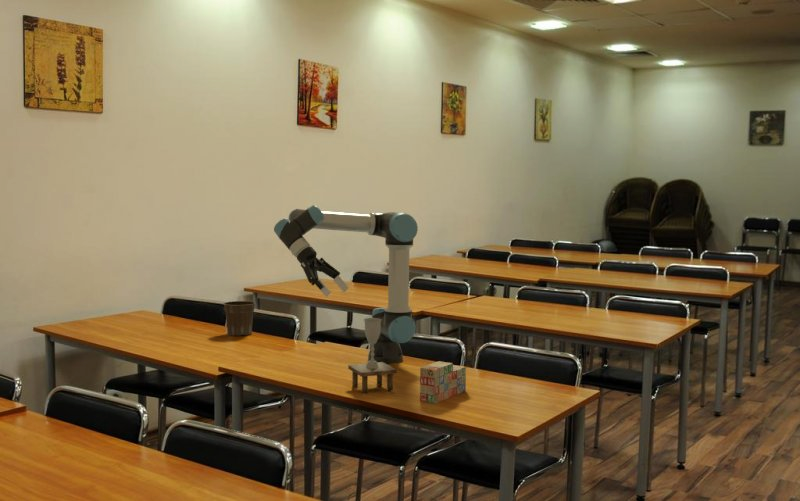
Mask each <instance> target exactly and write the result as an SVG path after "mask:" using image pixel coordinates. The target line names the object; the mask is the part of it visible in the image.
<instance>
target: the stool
mask: <svg viewBox="0 0 800 501" xmlns="http://www.w3.org/2000/svg"><path fill="white" fill-rule="evenodd" d="M377 364H378V366H379V368H376V369H369V368H366V366H367V362H366V363H357V364H349V365H347V366H348V367H347V368H348V370H349V371H352V380H351V381H352V382H351V383H352V387H353V388H358V387H359V383H358V382H359V378H358V377H359V376H360V377H361V393H362V394H368V379H369V378H368V377H373V376H374V377H375V376H376V385H379V386H381V385H383V376H385V375H386V376H387V377H386V391H388V392H391V391H393V388H394V387H393V384H394V383H393V375H394V374H398V369H397V368H395V367H393V366H391V365H389V364H388V363H383V362H377Z"/></svg>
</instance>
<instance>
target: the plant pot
mask: <svg viewBox="0 0 800 501" xmlns="http://www.w3.org/2000/svg"><path fill="white" fill-rule="evenodd" d="M255 305H256V302H255V301H252V300H251V301H248V300H235V301H233V300H232V301H226V302H223V307H224V308H223V309H224V312H225V318H226V322H225V323H226V332H227V335H228V336H233V337H234V336H235V337H240V336H250V335H251V334H252V332H253V319H254V311H255Z"/></svg>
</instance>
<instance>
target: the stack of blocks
mask: <svg viewBox="0 0 800 501" xmlns="http://www.w3.org/2000/svg"><path fill="white" fill-rule="evenodd" d="M419 370H420V372H419V373H420V374H419V375H420V376H419V401H420V402H426V403H430V404H437V403H440V402H442V401H444V400H447V399H449V398H451V397H454V396H456V395H459V394H462V393H464V392H466V385H467V383H466V381H467V374H466V371H467V369H466V366H462V365H454V364H453V362H448V361H447V362H445V361H441V360H439V361H436V362H432V363H429V364H427V365H423V366H421V367H420V368H419Z"/></svg>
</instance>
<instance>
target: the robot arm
mask: <svg viewBox="0 0 800 501" xmlns="http://www.w3.org/2000/svg"><path fill="white" fill-rule="evenodd" d="M313 229H314V230H331V231H344V232H354V233H355V232H357V233H366V234H368V235H369V236H377V237H381V238H383V239H385V242H384V243H385V246H386V247H387V248H388V280H387V282H388V289H387V290H388V294H387V296H388V297H387V299H388V301H387V306H386V307H377V308H374V309H373V310H372V315H371V318H379V319H382V320H381V330H380V335H379V338H378V340H377V342H376V344H374V349H375V350H374V354H375V355H374V360H375V361H377V362H383V363H385V364H395V363H400V362H402V361H403V359H404V358H403V356H404V355H403V350H402V348H401V345H400V344H405V343H407V342H409V341H410V340H411V339H412V338H414V336H415V333H416V329H417V326H416V322H415V321H414V319H413V310H412V308H411V307H410V306H409V299H410V298H409V296H410V295H409V290H410V288H409V287H410V250H411V248H412V247H413V246H414V238H415V237H416V236H417V234H418V229H419V228H418V223H417V220H416V219H415V218H414V217H413V216H412V215H410V214H408V213H405V212H395V211H389V212H388V211H387V212H369V214H364V213H363V214H360V213H351V212H350V213H349V212H337V211H324V210H321V209H320V208H319V207H318V206H317V205H314V204H313V205H311V206H309V207H307V209H300V208H296V209H293V210H292V211H291V212H290V213H289V214H288V218H285V217H284V218H282V219H280V220H279V221H278V222H277V223H276V224H275V225H274V227H273V232H274V233H275V234H276V236H277V237H278V239H279V240H280V241H281V242H282V243H283V245H284V246H286V248H287V249H288V251H290V253H291V255H293V256H294V257H295V258H296V259H297V261H298V263H299V264H300V267H301V268H302V270H303V272H304V274H305V276H306V279H307V280H308V283H309V284H310V285H311V286H316V287H317V288H318V289H319V290H320V292H321V293H322V294H323V295H324V297H325V298H327V297H329V295H330V294H331V293H332V291H331V290H330V288H328V286H327V285H326V283H325V282H323V280H322V279H321V278H319V274H318V272H321V273H323V274H325V275H327V276H328V277H330V278H331V279H333V282H334V283H335V284H336V285H337V287H339V289H340V290H341V291H342V293H346V291H347V290H348V289H349V286H348V285H347V284H346V282H344V280H343V279H342V278H341V276H340V275H341V272H340V271H339V270H337V269H336V268H335V267H334V266H332V265H331V264H330V263H329V262H328V261H326V260H325V259H324V258H323V257H320V258H318V257H317V255H318V253H317V251H316V250H315V249H314V248H313V247H312V246H311V244H310V243H309V242H308V240H307V239H306V238H305V237H304V235H306V234H307V233H308V232H309V231H311V230H313ZM370 349H371V347H370V348H369V351H368V354H367V358H368V359H367V360H368V361H370V360H371V355H370V354H371V350H370Z"/></svg>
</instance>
